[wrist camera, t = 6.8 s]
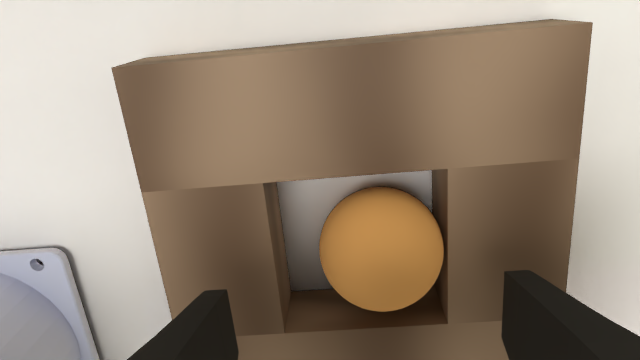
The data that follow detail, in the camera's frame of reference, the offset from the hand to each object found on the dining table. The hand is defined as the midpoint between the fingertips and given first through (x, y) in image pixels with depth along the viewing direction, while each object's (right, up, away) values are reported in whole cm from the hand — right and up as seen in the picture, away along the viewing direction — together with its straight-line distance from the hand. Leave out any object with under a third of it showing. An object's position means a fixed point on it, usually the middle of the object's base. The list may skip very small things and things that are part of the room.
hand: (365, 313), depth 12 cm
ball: (+1, +1, +3) cm, 3 cm away
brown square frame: (0, +2, +5) cm, 5 cm away
